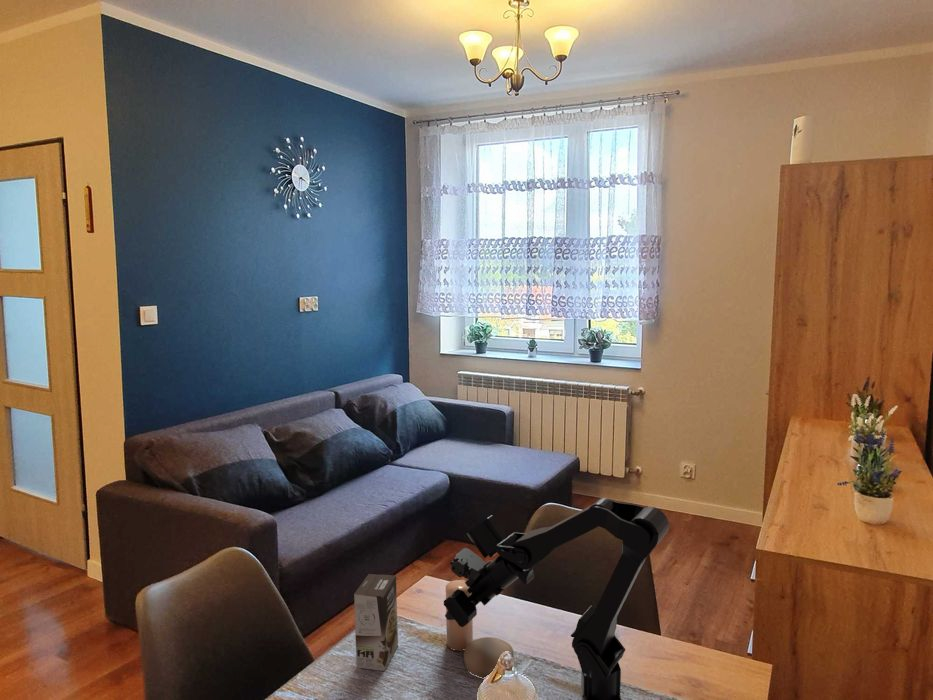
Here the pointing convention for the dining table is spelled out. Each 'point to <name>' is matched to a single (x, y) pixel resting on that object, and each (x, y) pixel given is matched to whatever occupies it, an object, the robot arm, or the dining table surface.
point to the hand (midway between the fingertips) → (453, 610)
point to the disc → (484, 655)
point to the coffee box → (376, 621)
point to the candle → (455, 633)
